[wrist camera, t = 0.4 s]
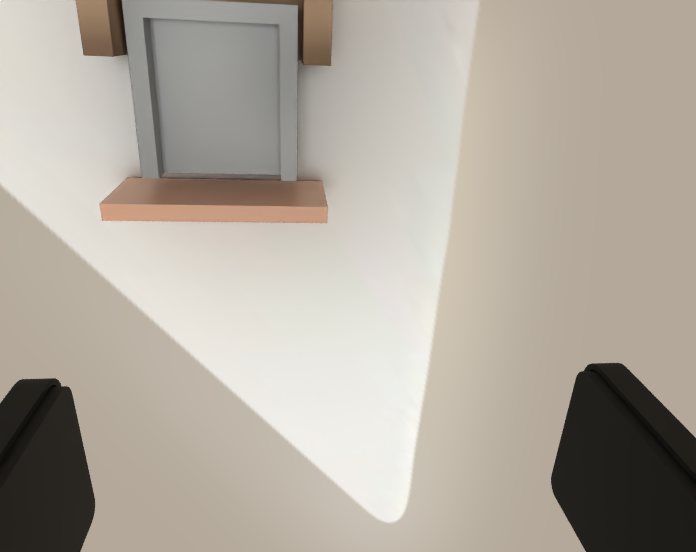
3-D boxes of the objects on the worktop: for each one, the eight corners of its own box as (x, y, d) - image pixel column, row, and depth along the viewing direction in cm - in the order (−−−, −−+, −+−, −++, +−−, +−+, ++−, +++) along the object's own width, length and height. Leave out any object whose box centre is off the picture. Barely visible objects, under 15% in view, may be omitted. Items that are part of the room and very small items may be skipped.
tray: (105, -3, 32) (68, -9, 26) (326, 9, 33) (333, 5, 28) (129, 192, 37) (101, 220, 31) (321, 195, 38) (327, 222, 33)
